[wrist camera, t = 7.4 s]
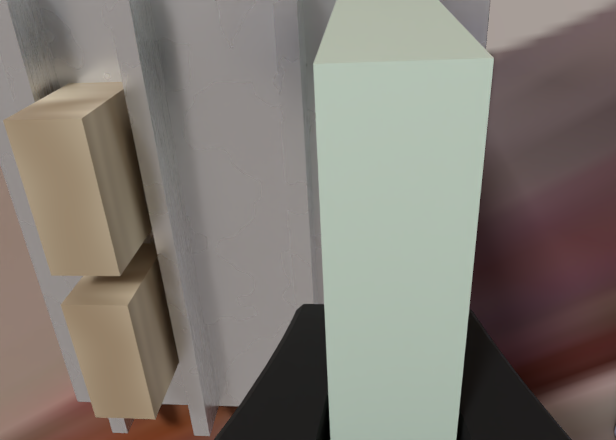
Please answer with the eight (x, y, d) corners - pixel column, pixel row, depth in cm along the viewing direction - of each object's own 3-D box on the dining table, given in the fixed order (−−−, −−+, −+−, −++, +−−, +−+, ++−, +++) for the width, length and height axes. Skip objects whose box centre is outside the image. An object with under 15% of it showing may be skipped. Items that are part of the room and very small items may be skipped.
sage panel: (409, -30, 11) (494, 58, 4) (397, 370, 15) (425, 749, 8) (346, -28, 11) (312, 65, 4) (353, 369, 16) (344, 741, 8)
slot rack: (487, -52, 15) (508, -46, 13) (448, 393, 23) (457, 444, 20) (-38, -25, 17) (-100, -16, 14) (88, 383, 24) (60, 430, 22)
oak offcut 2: (165, 243, 19) (127, 305, 16) (185, 346, 21) (155, 419, 18) (108, 243, 19) (60, 304, 16) (134, 345, 21) (95, 417, 18)
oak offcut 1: (134, 81, 17) (81, 118, 14) (160, 217, 19) (119, 276, 16) (69, 83, 17) (3, 120, 14) (102, 217, 19) (51, 275, 16)
